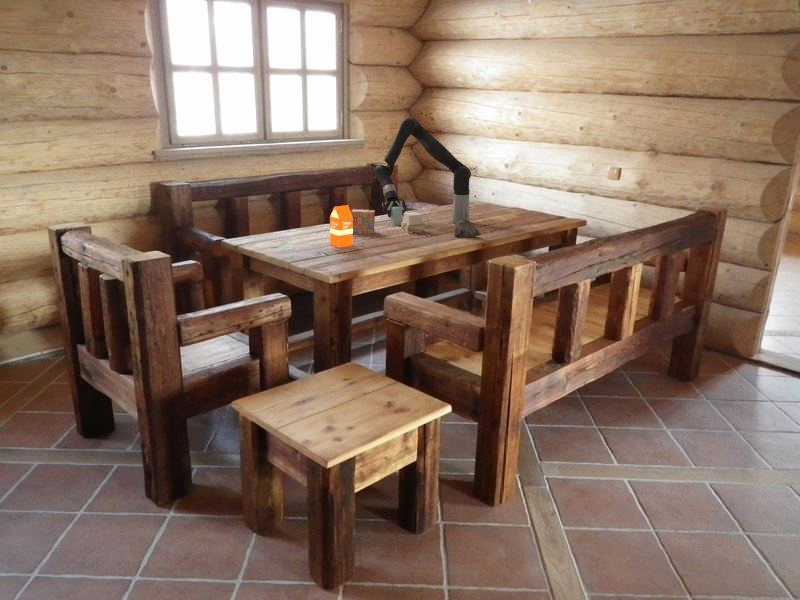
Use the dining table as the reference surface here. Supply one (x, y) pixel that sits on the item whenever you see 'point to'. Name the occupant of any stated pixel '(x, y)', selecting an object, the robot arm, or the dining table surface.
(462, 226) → the mineral rock
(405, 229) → the tower bottom slab
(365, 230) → the stack of blocks
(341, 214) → the orange juice
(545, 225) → the dining table surface
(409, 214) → the tower top slab
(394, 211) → the pillar block
